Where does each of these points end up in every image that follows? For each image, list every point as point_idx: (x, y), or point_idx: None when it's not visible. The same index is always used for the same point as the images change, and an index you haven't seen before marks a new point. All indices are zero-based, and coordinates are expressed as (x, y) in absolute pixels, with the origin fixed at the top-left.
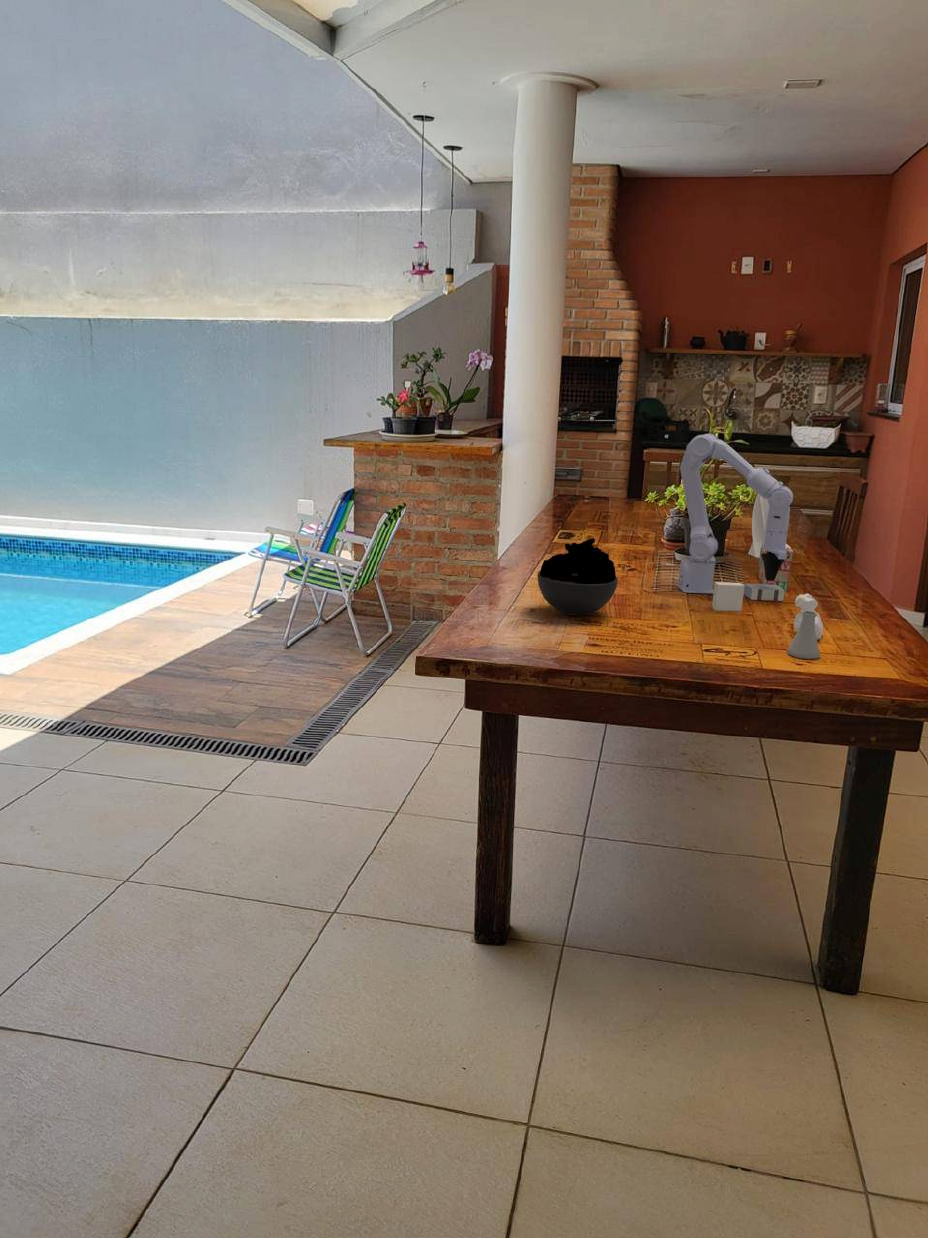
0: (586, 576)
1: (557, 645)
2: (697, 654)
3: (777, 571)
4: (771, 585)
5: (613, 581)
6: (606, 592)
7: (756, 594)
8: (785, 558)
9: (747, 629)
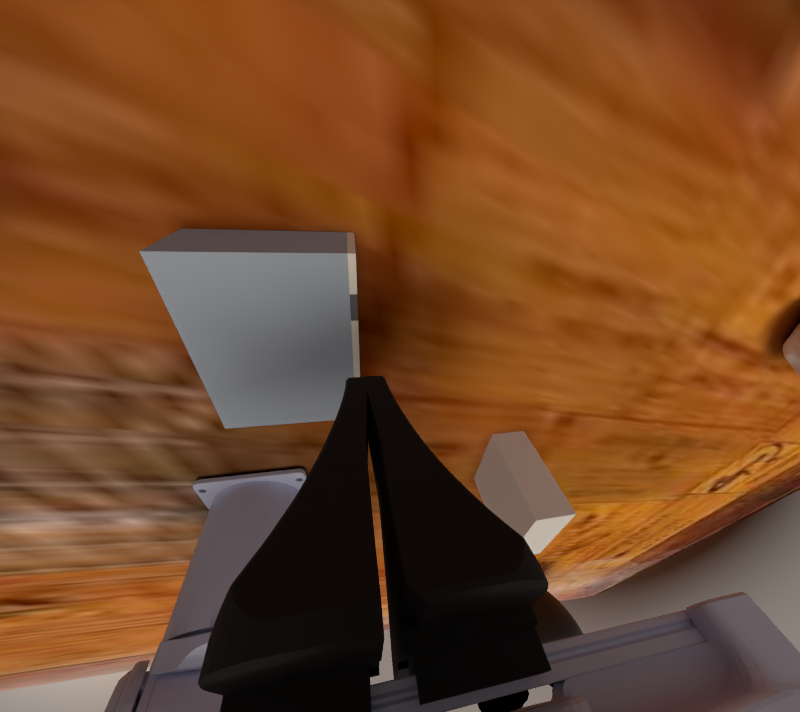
0: None
1: (606, 568)
2: (717, 496)
3: (410, 426)
4: (195, 298)
5: None
6: (572, 618)
7: None
8: (753, 609)
9: (669, 438)
